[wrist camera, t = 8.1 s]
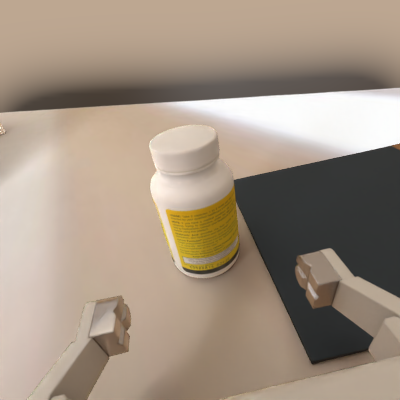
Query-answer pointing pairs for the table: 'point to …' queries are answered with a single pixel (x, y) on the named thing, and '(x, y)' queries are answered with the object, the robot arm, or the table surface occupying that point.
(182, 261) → the supplement bottle
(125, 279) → the table surface
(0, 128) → the gable box
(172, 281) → the table surface
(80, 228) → the table surface
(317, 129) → the table surface
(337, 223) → the mat
